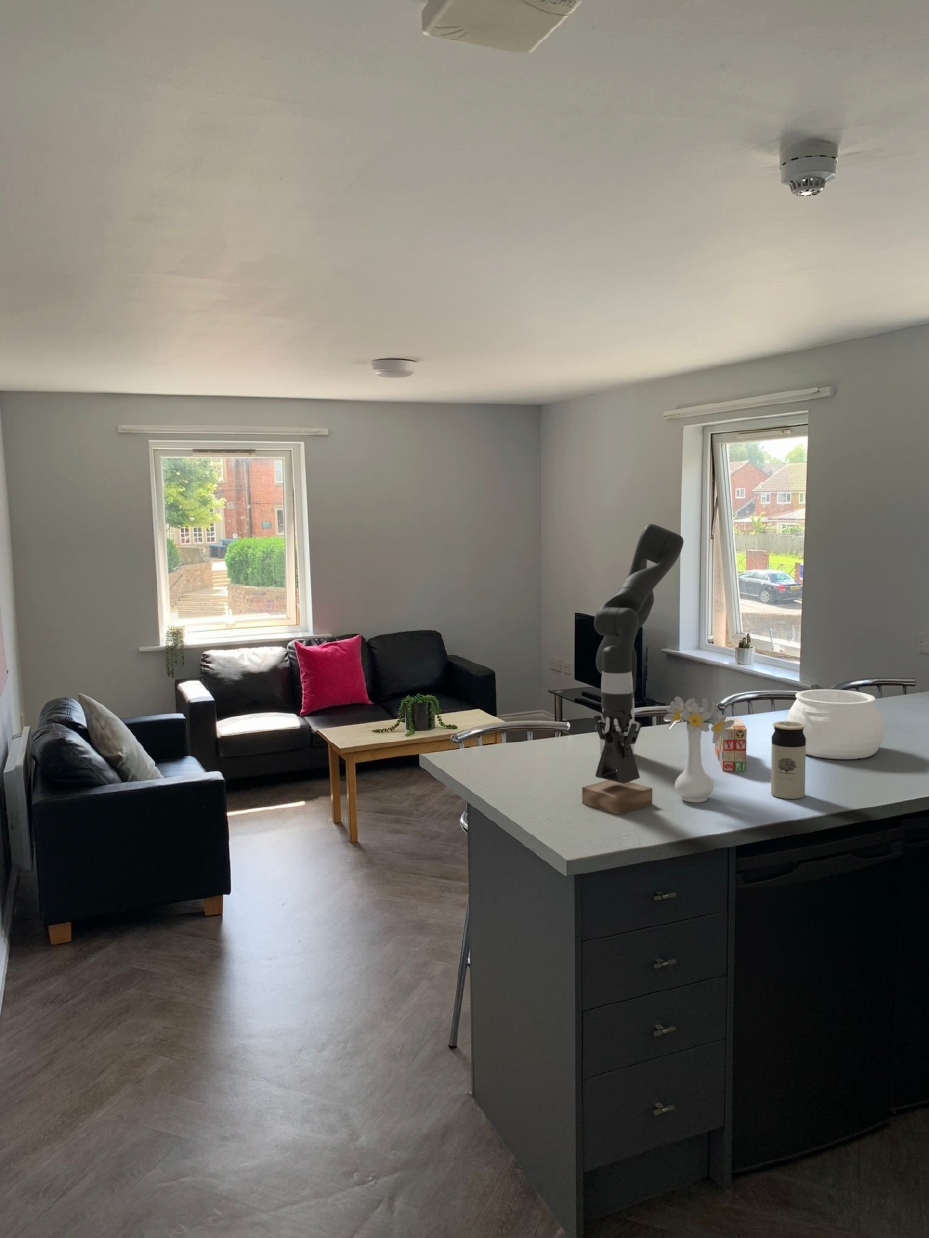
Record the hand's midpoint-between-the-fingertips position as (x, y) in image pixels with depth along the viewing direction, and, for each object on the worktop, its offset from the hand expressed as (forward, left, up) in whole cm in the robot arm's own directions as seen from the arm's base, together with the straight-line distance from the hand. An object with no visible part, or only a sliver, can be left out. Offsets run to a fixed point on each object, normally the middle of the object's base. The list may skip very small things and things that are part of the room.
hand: (617, 758), depth 222 cm
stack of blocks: (-5, +52, -12) cm, 54 cm away
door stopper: (0, 0, -5) cm, 5 cm away
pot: (+9, +84, -12) cm, 85 cm away
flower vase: (+11, +17, -11) cm, 23 cm away
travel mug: (+24, +36, -11) cm, 45 cm away
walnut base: (0, 0, -11) cm, 11 cm away
